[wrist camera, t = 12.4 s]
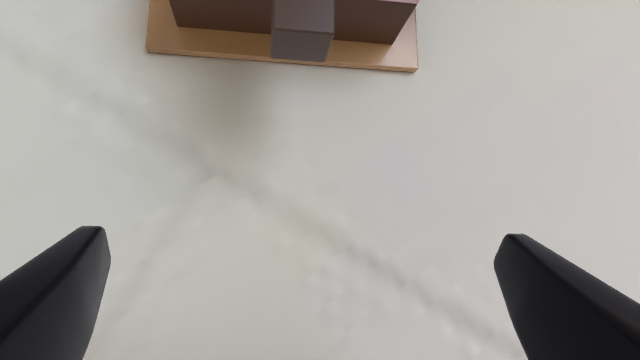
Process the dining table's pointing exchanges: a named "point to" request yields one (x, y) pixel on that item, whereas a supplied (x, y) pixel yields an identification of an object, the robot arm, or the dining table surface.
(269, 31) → the cake
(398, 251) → the dining table surface
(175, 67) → the dining table surface
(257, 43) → the cake board
